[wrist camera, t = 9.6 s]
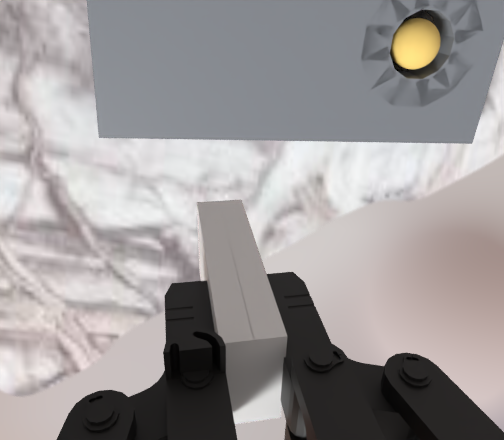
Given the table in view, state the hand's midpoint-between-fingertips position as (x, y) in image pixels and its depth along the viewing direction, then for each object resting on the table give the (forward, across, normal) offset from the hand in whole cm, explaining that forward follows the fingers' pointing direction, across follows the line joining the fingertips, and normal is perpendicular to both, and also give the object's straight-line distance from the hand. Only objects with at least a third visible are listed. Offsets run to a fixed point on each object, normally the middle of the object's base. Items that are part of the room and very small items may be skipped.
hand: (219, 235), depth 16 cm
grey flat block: (+21, +8, +3) cm, 22 cm away
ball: (+19, +16, +3) cm, 25 cm away
